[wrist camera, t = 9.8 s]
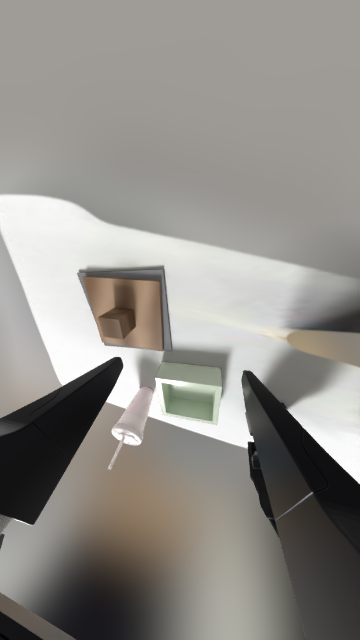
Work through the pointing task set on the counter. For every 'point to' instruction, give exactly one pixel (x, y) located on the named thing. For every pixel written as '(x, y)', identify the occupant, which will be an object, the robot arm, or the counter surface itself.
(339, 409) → the counter surface
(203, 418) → the dish
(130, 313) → the lid
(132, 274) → the mat
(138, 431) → the smoothie
